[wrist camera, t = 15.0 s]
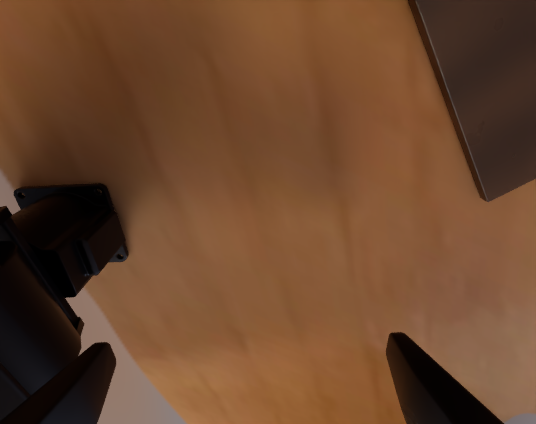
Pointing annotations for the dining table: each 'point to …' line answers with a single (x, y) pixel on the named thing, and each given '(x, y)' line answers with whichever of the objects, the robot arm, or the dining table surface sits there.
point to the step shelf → (486, 83)
